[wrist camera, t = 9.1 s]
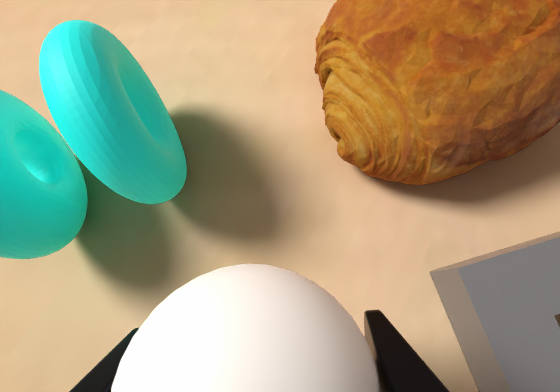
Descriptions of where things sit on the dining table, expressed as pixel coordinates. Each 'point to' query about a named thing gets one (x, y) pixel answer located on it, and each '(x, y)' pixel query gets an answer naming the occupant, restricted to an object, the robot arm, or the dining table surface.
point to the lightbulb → (248, 338)
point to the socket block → (507, 315)
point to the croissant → (438, 82)
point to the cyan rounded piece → (82, 141)
